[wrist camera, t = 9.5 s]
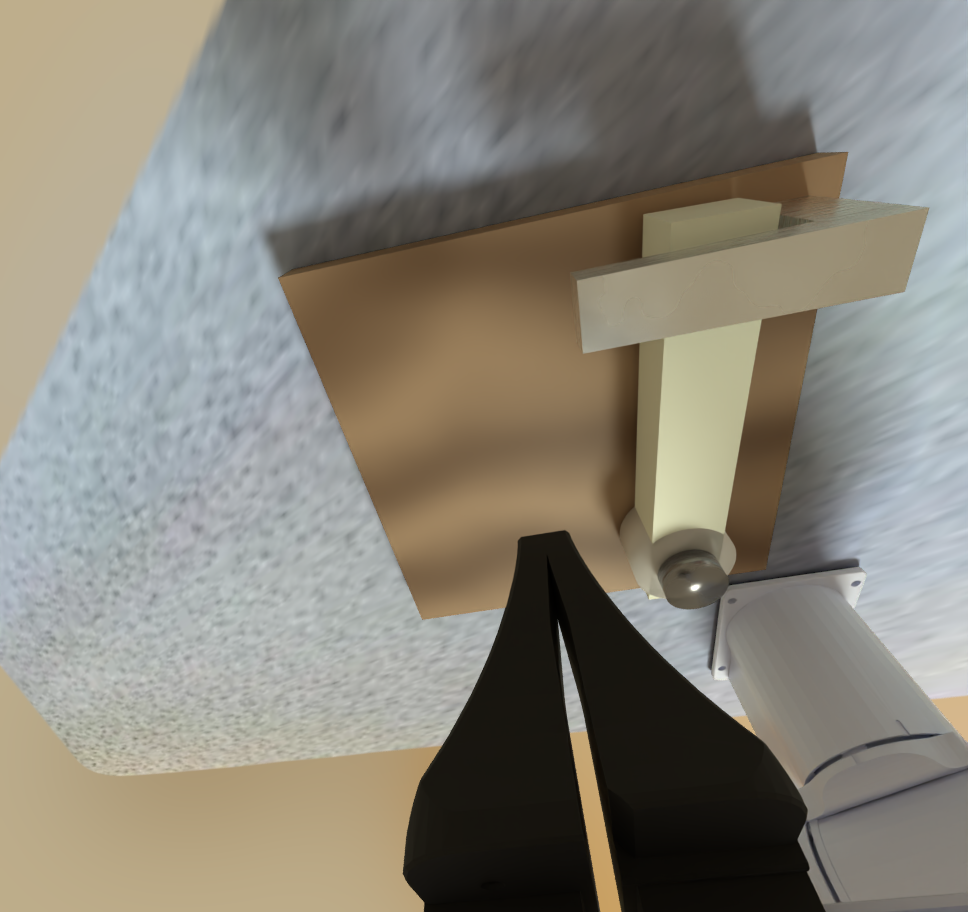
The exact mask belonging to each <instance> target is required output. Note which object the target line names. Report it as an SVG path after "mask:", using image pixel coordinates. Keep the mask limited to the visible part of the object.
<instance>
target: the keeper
mask: <svg viewBox="0 0 968 912" xmlns="http://www.w3.org/2000/svg"><path fill="white" fill-rule="evenodd" d="M775 203H779V204H782V206H781V212H780V217H779V223H778V229H776V230H771V231H767V232H762V233H757V234H752V235H748V236H743V237H738V238H733V239H728V240H724V241H719V242H714V243H709V244H705V245H700V246H695V247H690V248H685V249H681V250H676V251H671V252H666V253H662V254H657V255H652V256H647V257H643V258H638V259H633V260H628V261H623V262H619V263H614V264H609V265H604V266H600V267H595V268H590V269H585V270H580V271H576V272H571V273H570V278H571V289H572V300H573V311H574V322H575V333H576V342H577V344H578V346H579V348H580V349H581V351H582V353H583V354H585V353H590V352H595V351H600V350H605V349H611V348H616V347H621V346H626V345H631V344H636V343H642V342H647V341H652V340H657V339H662V338H668V337H673V336H678V335H683V334H688V333H693V332H699V331H704V330H709V329H714V328H719V327H724V326H730V325H735V324H740V323H745V322H750V321H756V320H761V319H766V318H771V317H776V316H781V315H787V314H792V313H797V312H802V311H807V310H812V309H818V308H823V307H828V306H833V305H838V304H844V303H849V302H854V301H859V300H864V299H869V298H875V297H880V296H885V295H890V294H895V293H900V292H905V289H906V285H907V282H908V278H909V275H910V272H911V268H912V265H913V261H914V258H915V255H916V251H917V248H918V244H919V241H920V238H921V234H922V231H923V227H924V224H925V221H926V217H927V214H928V210H929V207H920V206H910V205H900V204H890V203H881V202H871V201H861V200H851V199H842V198H832V197H822V196H812V195H807V196H803V197H798V198H793V199H789V200H784V201H779V202H775Z"/></svg>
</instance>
